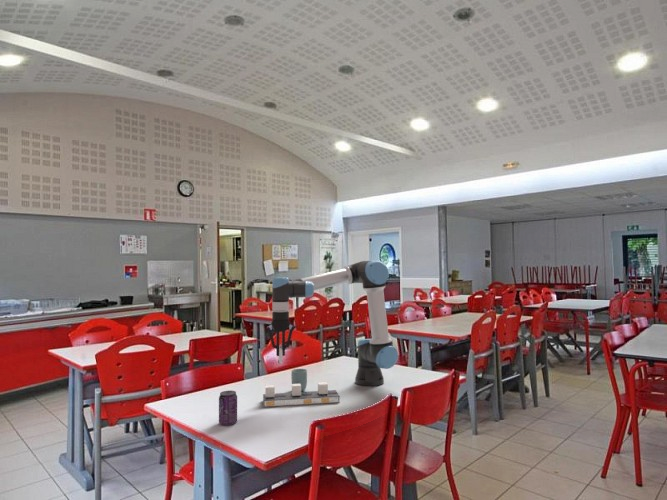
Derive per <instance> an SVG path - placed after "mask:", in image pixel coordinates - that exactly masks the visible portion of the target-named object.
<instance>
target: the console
mask: <svg viewBox="0 0 667 500" xmlns="http://www.w3.org/2000/svg"><path fill="white" fill-rule="evenodd" d="M262 397H263V398H262V399H263V401H262V405H263V407H262V408H272V407H273V408H275V407H292V406H308V405H322V404H324V405H325V404H339V403H340V394H339V393H338V392H337V390H336V389H333V390H328V394H319V393H318V390H315V391H313V390H312V391H301V395H299V396H292V392H279V393H278V392H277V393H276V392H275V397H266V396H265V393H264V394H262Z"/></svg>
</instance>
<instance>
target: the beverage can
mask: <svg viewBox="0 0 667 500" xmlns="http://www.w3.org/2000/svg"><path fill="white" fill-rule="evenodd" d="M219 393H220V394H219V397H218V424H220V425H222V426H232V425H235V424H236V423H238V395H237V391H236V390H223V391H221V392H219Z"/></svg>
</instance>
